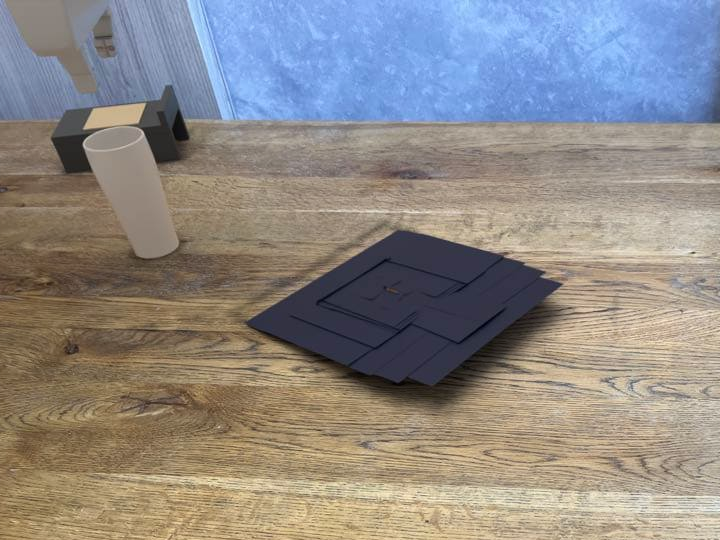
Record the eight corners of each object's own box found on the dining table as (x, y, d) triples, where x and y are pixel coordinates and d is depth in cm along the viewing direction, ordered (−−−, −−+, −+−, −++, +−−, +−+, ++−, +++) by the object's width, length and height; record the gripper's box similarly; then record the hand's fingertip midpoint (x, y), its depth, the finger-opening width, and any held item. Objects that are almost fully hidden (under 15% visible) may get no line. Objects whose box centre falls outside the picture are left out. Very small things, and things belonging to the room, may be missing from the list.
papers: (424, 420, 76) (415, 389, 74) (238, 338, 93) (227, 310, 90) (577, 297, 90) (573, 268, 88) (392, 244, 106) (385, 219, 104)
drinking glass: (122, 252, 103) (72, 138, 93) (173, 232, 106) (130, 120, 96) (144, 273, 99) (94, 156, 89) (196, 251, 102) (154, 137, 92)
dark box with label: (68, 178, 119) (43, 123, 113) (83, 149, 126) (60, 96, 121) (182, 164, 121) (163, 110, 115) (189, 136, 128) (172, 84, 123)
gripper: (32, -114, 77) (89, 39, 86) (-39, -62, 62) (38, 116, 71) (103, -118, 78) (151, 34, 87) (49, -67, 63) (114, 110, 72)
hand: (100, 72), depth 79 cm, fingers open, 8 cm apart
